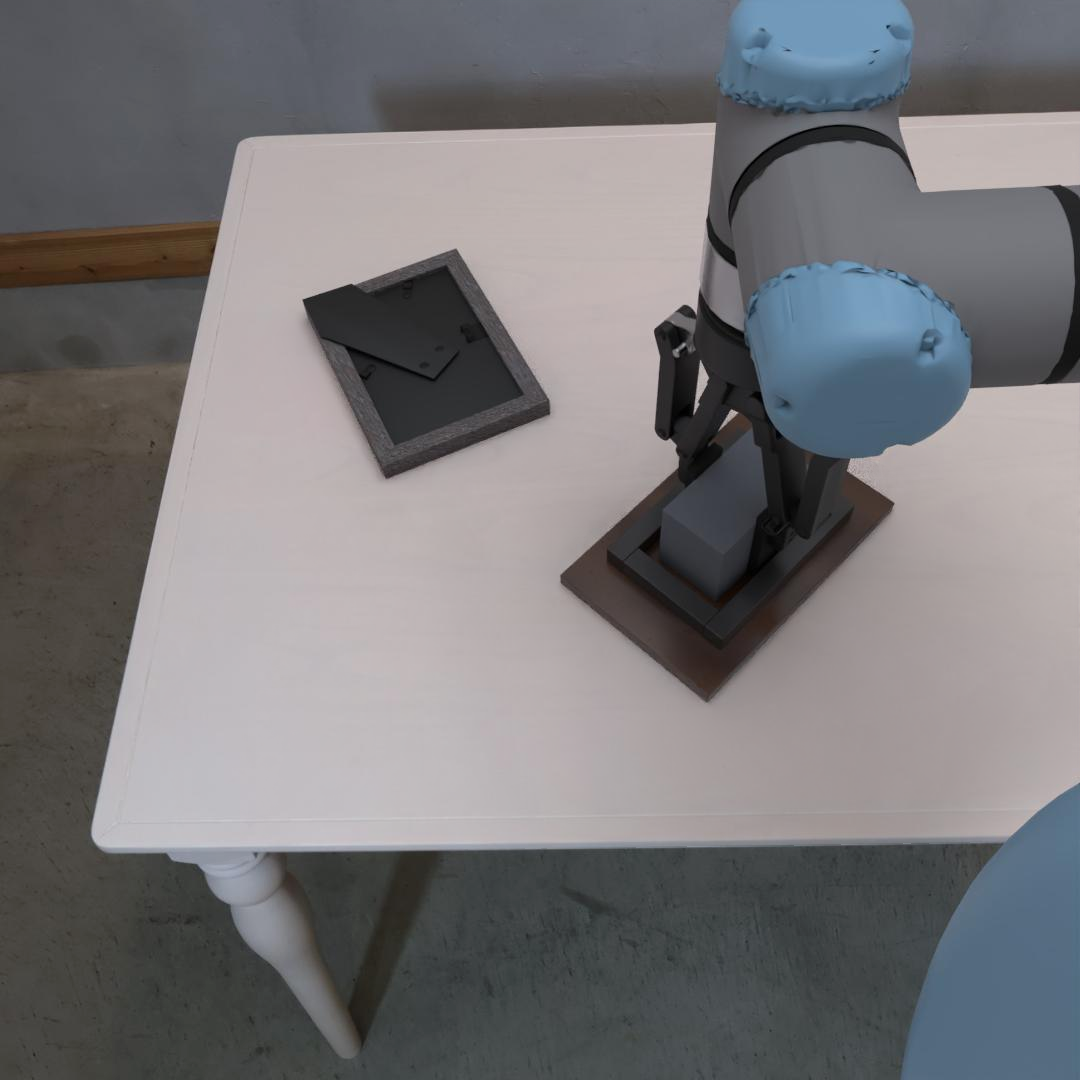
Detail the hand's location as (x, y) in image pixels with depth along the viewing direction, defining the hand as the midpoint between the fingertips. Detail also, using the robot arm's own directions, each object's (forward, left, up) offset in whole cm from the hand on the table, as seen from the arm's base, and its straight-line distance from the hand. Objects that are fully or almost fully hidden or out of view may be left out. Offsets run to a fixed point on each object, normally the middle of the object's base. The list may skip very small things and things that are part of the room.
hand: (730, 536), depth 77 cm
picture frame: (+28, +3, -2) cm, 28 cm away
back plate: (0, 0, -1) cm, 1 cm away
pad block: (0, 0, 0) cm, 0 cm away
